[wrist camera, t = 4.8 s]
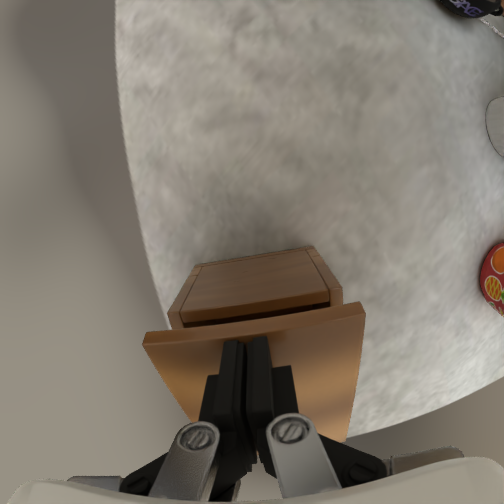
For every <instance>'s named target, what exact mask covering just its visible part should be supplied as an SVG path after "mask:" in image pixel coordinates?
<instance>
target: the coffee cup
mask: <svg viewBox="0 0 504 504" xmlns="http://www.w3.org/2000/svg"><path fill="white" fill-rule="evenodd" d="M486 125H487V131H488V135H489V138H490V140H491V142H492V145H493V146H494V148H495V150H496V151H497V152H498V153H499V154H500V155H501V156H502V157H504V96H503V97H499V98H496V99H494V100H492V101H491V102H490V103H489V105H488V108H487V112H486Z"/></svg>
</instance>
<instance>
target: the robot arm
mask: <svg viewBox="0 0 504 504" xmlns="http://www.w3.org/2000/svg"><path fill="white" fill-rule="evenodd" d="M257 451H258V455H259V458H260V461H261V463H263V464H264V467H265V471H266V472H267V473H268V474H270V475H271V476H273V477H275V478H276V479H278V483H279V487H280V490H281V494H282V498H283V499H274V500H262V501H246V502H237V498H238V493H239V489H240V484H241V481H240V479H241V478H242V477H243V476H245V475H246V474H247V472H252V464H256V463H257ZM7 504H504V468H503V467H502V466H500V465H499V464H498V463H497V462H495V461H493V460H491V459H488V458H483V457H465V458H464V455H463V453H462V451H460V450H459V449H457V448H455V447H452V446H447V447H441V448H436V449H431V450H426V451H420V452H415V453H408V454H402V455H395V456H391V457H390V459H383V460H380V459H379V458H377V457H375V456H372V455H370V454H367V453H364V452H362V451H359V450H356V449H354V448H352V447H349V446H347V445H344V444H342V443H339V442H337V441H335V440H332V439H330V438H328V437H326V436H323V435H321V434H319V433H317V430H316V428H315V426H314V423H313V422H312V421H311V419H310V418H308V417H307V416H306V415H303V414H300V413H299V409H298V403H297V397H296V391H295V385H294V380H293V374H292V368H291V365H287V366H280V367H274V368H273V366H272V360H271V355H270V349H269V344H268V338H267V336H261V337H254V338H253V341H252V342H248V355H247V352H246V348H245V344H244V343H239V340H232V341H224V344H223V350H222V356H221V362H220V368H219V374H215V375H208V376H207V380H206V385H205V389H204V394H203V399H202V404H201V409H200V414H199V419H198V422H193V423H190V424H188V425H186V426H184V427H183V428H181V429H180V430H179V432H178V433H177V435H176V437H175V439H174V441H173V443H172V445H171V448H170V450H169V452H167V453H165V454H164V455H162V456H160V457H159V458H157V459H155V460H154V461H152V462H150V463H149V464H147V465H145V466H143V467H142V468H140V469H138V470H136V471H134V472H133V473H131V474H129V475H128V476H127V477H126V478H121V477H120V476H73V477H71V478H69V479H68V480H67V481H63V480H53V479H52V480H51V479H45V480H33V481H28V482H26V483H24V484H22V485H21V486H20V487H19V488H18V489H17V490H16V491H15V492H14V494H13V495H12V497H11V498H10V500H9V501H8V503H7Z"/></svg>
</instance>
